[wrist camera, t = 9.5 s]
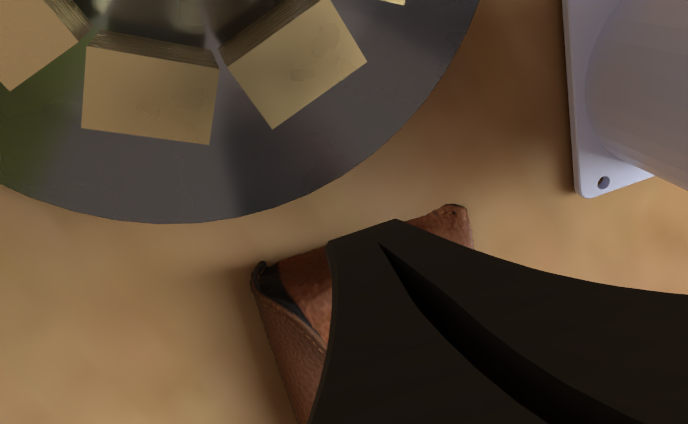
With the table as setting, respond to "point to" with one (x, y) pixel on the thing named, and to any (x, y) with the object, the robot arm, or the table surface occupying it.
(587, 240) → the table surface
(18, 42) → the gear with bar handle
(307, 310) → the sunglasses case
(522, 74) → the table surface
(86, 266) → the table surface
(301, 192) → the grey round disc
